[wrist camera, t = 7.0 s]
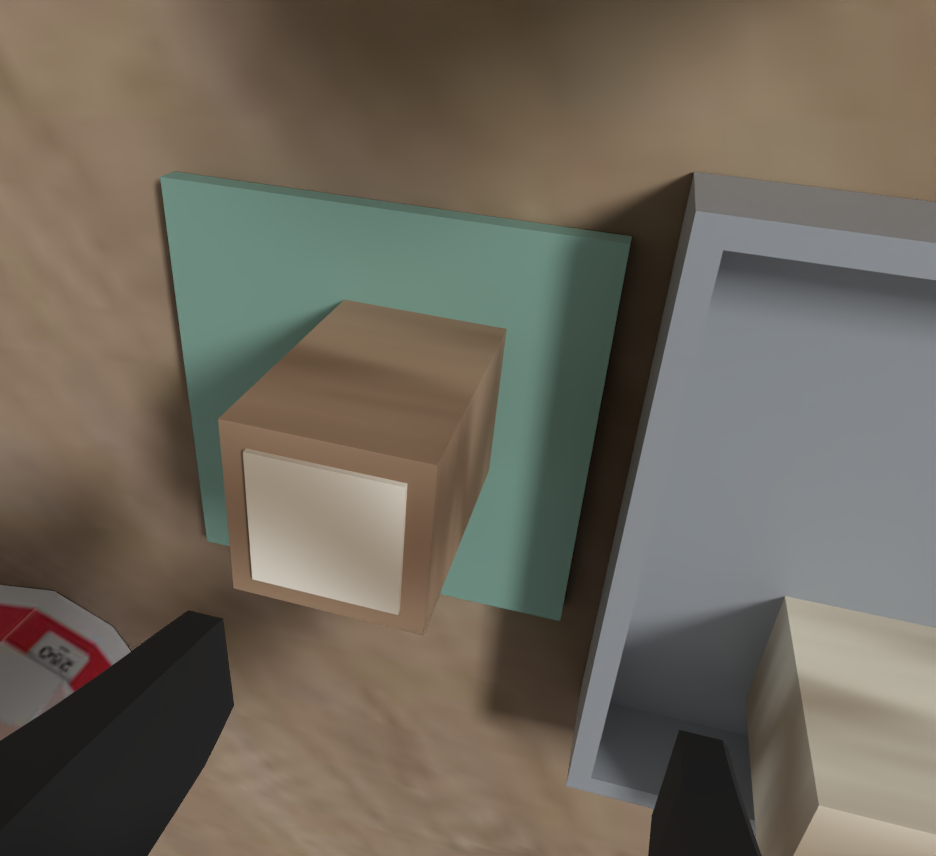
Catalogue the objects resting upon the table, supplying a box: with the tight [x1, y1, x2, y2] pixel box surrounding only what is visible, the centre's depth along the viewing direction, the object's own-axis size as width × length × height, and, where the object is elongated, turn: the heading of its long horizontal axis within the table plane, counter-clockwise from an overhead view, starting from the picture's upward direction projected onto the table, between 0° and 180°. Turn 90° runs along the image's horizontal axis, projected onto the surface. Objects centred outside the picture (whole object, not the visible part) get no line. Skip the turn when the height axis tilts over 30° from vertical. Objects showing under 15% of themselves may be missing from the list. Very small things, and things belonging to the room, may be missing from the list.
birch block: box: [745, 596, 936, 856], centre depth 18 cm, size 4×4×6 cm
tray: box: [566, 172, 936, 836], centre depth 18 cm, size 16×13×3 cm
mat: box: [160, 172, 632, 621], centre depth 20 cm, size 11×11×1 cm
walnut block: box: [218, 300, 507, 635], centre depth 17 cm, size 4×4×6 cm
